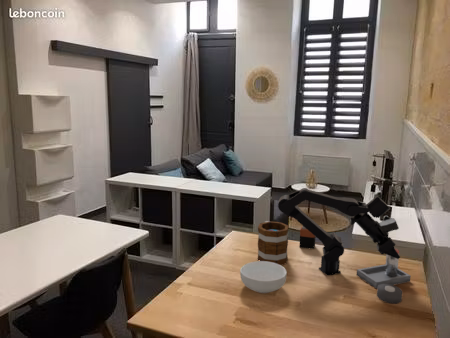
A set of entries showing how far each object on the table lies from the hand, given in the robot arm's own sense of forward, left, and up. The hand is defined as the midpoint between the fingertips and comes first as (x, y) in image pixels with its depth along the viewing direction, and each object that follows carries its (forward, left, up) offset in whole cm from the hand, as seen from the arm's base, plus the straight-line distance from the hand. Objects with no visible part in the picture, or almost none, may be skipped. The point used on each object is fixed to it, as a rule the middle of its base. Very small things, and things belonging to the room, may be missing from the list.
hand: (396, 254), depth 143 cm
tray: (-5, +1, -10) cm, 11 cm away
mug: (-37, +34, -10) cm, 51 cm away
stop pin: (-1, +1, -8) cm, 9 cm away
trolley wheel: (-13, -11, -10) cm, 20 cm away
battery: (-16, +38, -10) cm, 42 cm away
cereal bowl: (-52, +10, -10) cm, 54 cm away
